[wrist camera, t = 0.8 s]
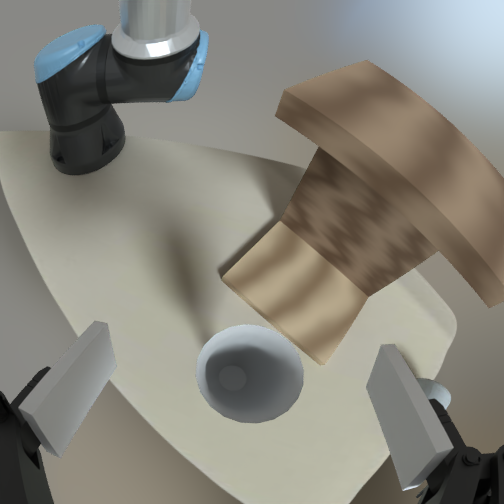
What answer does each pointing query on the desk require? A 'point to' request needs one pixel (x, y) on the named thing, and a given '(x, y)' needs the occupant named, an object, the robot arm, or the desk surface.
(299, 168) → the desk surface
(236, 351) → the chalice
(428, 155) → the walnut shelf
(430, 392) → the ceramic mug
